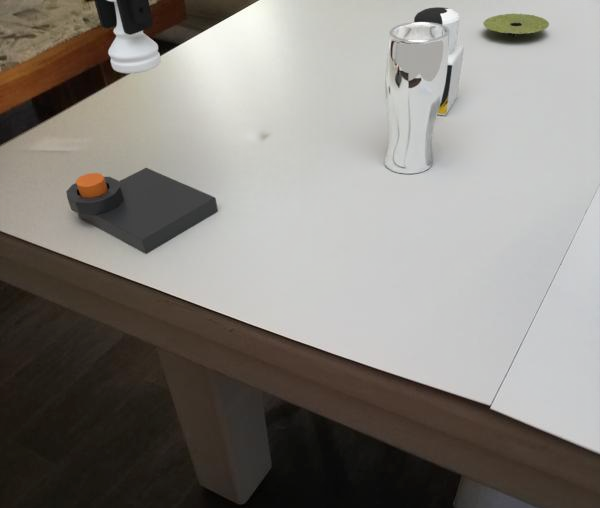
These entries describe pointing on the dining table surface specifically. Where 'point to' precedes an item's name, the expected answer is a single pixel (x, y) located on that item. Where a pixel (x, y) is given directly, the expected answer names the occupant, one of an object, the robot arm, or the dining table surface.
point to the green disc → (516, 23)
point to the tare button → (91, 185)
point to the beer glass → (414, 92)
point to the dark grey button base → (144, 208)
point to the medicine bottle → (454, 54)
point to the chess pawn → (132, 50)
